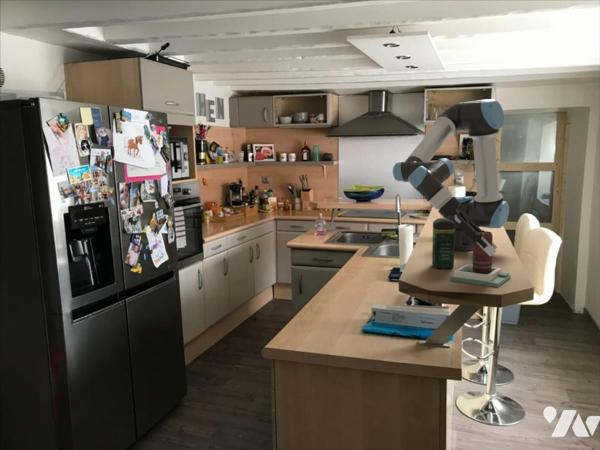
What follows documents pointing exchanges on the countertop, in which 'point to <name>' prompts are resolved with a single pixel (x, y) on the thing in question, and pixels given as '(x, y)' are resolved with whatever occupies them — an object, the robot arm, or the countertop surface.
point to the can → (482, 255)
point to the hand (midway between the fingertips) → (493, 251)
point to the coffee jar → (443, 243)
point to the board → (480, 276)
